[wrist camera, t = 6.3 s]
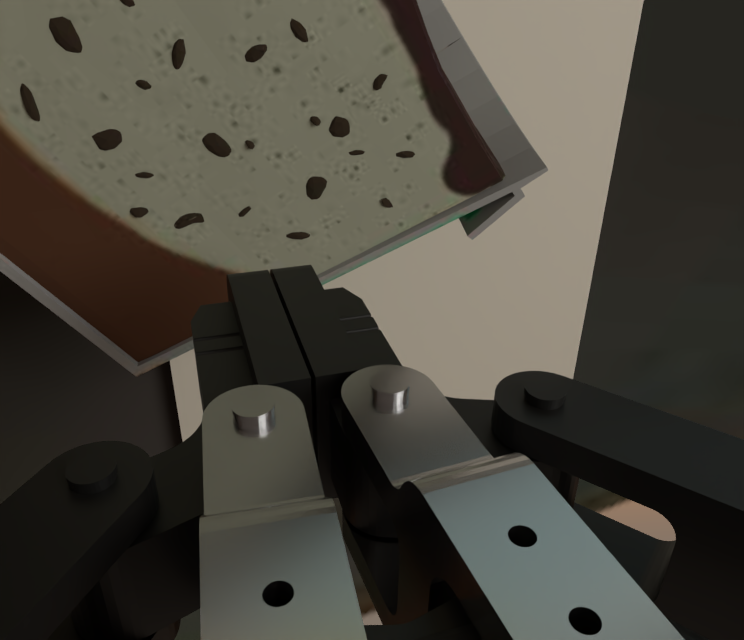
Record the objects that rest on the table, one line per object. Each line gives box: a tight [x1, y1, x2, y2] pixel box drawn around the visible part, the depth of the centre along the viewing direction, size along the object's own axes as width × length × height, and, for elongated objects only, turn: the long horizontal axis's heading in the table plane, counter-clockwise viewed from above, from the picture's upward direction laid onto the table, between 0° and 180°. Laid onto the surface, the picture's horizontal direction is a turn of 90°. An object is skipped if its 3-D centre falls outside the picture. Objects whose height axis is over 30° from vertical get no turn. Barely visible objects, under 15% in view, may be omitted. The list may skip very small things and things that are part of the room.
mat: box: [170, 0, 644, 442], centre depth 20 cm, size 14×22×1 cm, turn 0°
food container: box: [0, 0, 548, 377], centre depth 14 cm, size 12×6×10 cm
